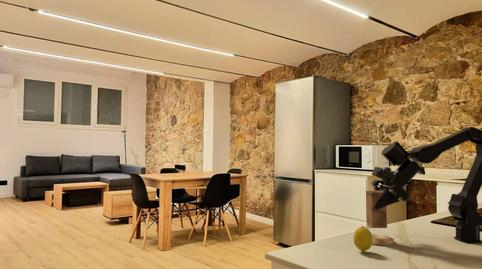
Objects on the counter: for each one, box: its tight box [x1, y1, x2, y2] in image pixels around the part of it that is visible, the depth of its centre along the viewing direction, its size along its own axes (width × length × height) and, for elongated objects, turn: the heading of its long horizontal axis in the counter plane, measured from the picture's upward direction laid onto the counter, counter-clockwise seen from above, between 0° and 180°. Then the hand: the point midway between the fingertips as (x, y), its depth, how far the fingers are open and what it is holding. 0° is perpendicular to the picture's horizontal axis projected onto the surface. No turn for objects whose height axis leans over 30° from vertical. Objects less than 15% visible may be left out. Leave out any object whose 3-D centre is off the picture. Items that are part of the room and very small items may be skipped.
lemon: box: [353, 225, 373, 253], centre depth 108 cm, size 6×6×8 cm
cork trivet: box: [371, 233, 395, 247], centre depth 121 cm, size 11×11×1 cm
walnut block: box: [365, 190, 388, 229], centre depth 121 cm, size 5×5×12 cm
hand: (372, 207), depth 121 cm, fingers closed on walnut block, 5 cm apart
